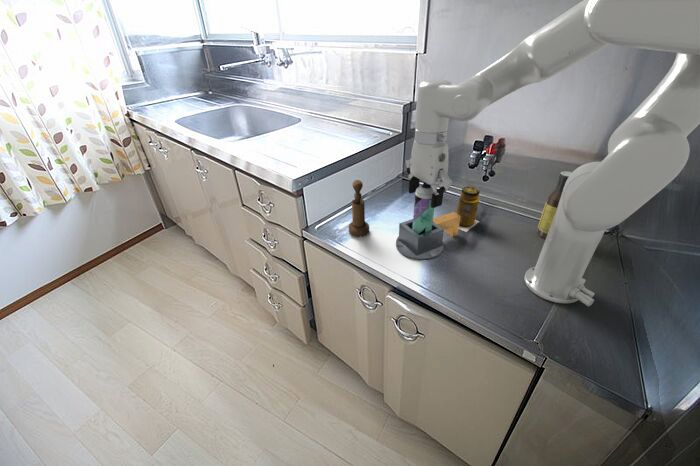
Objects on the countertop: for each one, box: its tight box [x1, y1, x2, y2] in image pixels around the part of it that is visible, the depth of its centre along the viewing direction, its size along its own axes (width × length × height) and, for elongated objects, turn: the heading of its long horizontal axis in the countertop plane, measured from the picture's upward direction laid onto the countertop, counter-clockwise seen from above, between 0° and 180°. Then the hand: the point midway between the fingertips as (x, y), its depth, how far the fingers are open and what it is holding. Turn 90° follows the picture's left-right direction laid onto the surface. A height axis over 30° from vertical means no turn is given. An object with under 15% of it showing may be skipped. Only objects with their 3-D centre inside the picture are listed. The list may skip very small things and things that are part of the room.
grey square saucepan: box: [395, 211, 461, 261], centre depth 94 cm, size 14×20×7 cm
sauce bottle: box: [536, 170, 573, 239], centre depth 92 cm, size 6×6×20 cm
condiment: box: [456, 186, 481, 233], centre depth 101 cm, size 7×8×12 cm
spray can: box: [412, 181, 435, 235], centre depth 89 cm, size 6×6×20 cm
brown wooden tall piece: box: [348, 179, 370, 238], centre depth 98 cm, size 7×6×18 cm
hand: (424, 198), depth 86 cm, fingers open, 9 cm apart
